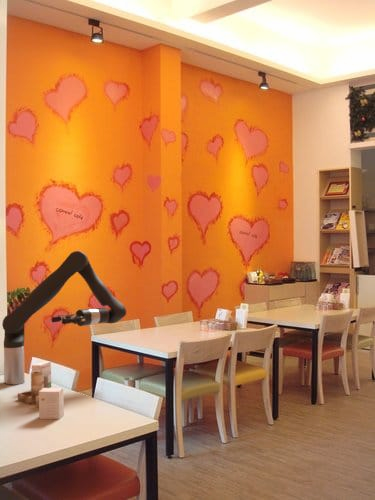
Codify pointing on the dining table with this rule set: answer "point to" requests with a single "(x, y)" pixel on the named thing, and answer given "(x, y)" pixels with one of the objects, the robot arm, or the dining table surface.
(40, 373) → the tan hollow cylinder
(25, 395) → the tray
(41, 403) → the small box
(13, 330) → the robot arm
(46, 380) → the stand
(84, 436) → the dining table surface
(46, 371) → the ink box
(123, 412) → the dining table surface
